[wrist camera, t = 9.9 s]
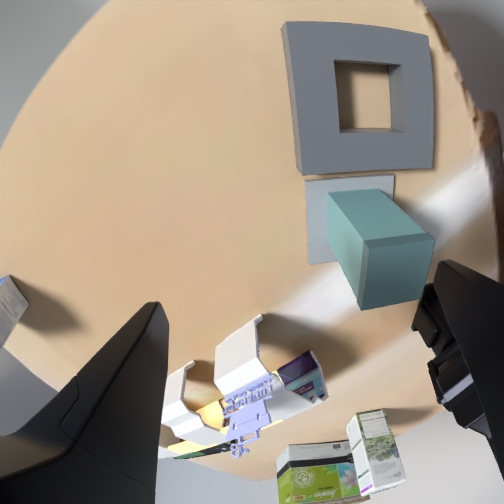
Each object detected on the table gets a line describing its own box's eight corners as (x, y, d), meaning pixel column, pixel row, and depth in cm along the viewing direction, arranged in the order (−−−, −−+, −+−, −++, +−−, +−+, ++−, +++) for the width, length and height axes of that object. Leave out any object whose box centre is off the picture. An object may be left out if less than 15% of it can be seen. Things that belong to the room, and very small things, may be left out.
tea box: (358, 437, 46) (372, 499, 34) (338, 453, 51) (349, 508, 39) (286, 443, 45) (294, 513, 32) (274, 459, 50) (279, 519, 37)
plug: (377, 187, 20) (435, 239, 13) (374, 235, 22) (421, 298, 15) (326, 191, 20) (368, 248, 13) (327, 241, 22) (361, 310, 15)
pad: (391, 173, 20) (394, 175, 20) (385, 251, 24) (386, 253, 23) (304, 180, 20) (305, 182, 20) (308, 262, 24) (309, 265, 23)
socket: (413, 38, 14) (427, 35, 12) (418, 161, 19) (431, 168, 18) (281, 28, 14) (285, 21, 13) (296, 167, 20) (302, 175, 18)
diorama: (253, 305, 26) (263, 440, 15) (318, 351, 30) (343, 459, 19) (125, 394, 35) (108, 475, 24) (183, 421, 39) (176, 495, 28)
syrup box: (344, 427, 42) (360, 498, 30) (355, 412, 39) (374, 490, 27) (373, 422, 43) (391, 489, 30) (385, 407, 40) (407, 480, 27)
